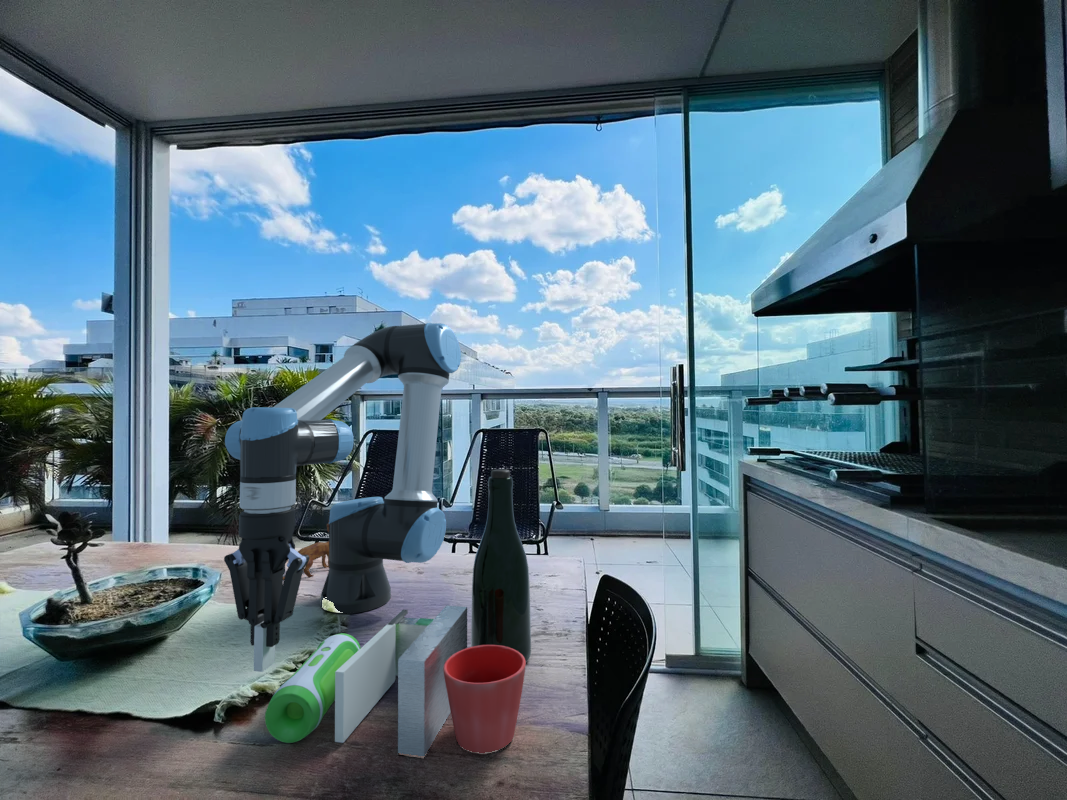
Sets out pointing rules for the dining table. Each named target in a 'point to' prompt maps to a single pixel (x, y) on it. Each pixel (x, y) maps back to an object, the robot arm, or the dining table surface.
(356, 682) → the plate
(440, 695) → the frame
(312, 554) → the cat figurine
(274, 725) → the speaker
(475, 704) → the flower pot
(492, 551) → the beer bottle
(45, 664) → the dining table surface
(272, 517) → the robot arm
